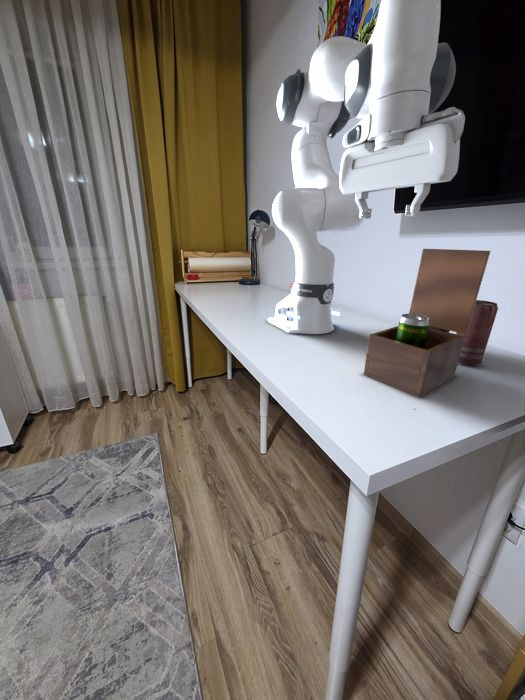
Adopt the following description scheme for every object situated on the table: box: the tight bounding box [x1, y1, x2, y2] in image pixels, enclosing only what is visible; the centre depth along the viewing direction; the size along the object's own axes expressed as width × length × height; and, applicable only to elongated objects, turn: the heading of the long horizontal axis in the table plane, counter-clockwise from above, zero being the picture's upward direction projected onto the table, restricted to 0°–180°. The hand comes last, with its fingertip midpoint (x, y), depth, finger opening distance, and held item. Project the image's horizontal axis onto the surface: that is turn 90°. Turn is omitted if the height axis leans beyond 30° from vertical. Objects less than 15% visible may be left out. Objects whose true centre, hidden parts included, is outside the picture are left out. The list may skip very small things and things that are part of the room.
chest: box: [363, 325, 465, 398], centre depth 58 cm, size 15×12×9 cm
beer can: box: [395, 313, 431, 349], centre depth 56 cm, size 5×5×12 cm
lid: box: [408, 248, 491, 334], centre depth 59 cm, size 15×12×5 cm
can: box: [455, 299, 499, 367], centre depth 65 cm, size 6×6×14 cm
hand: (386, 217), depth 53 cm, fingers open, 8 cm apart
